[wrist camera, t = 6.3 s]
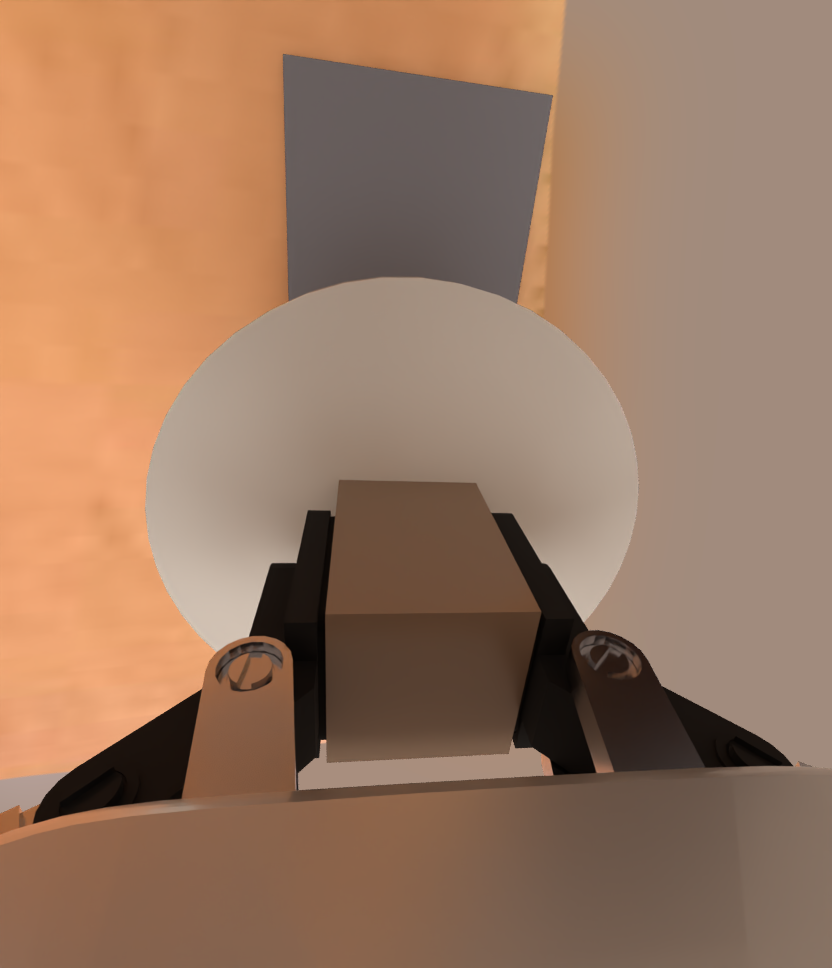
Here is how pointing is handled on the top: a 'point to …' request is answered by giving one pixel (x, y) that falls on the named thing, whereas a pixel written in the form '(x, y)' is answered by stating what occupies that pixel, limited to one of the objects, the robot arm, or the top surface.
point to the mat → (407, 176)
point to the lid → (397, 497)
